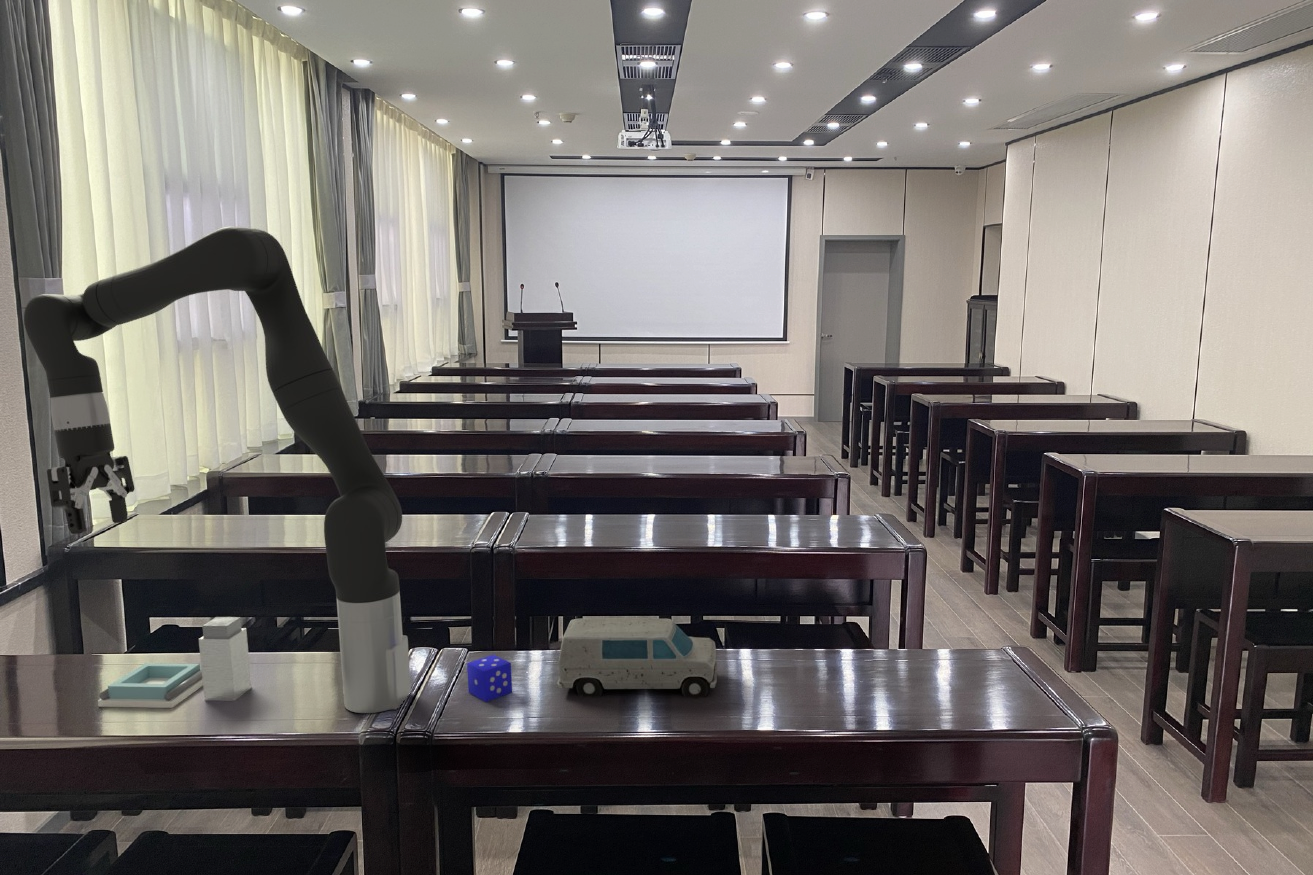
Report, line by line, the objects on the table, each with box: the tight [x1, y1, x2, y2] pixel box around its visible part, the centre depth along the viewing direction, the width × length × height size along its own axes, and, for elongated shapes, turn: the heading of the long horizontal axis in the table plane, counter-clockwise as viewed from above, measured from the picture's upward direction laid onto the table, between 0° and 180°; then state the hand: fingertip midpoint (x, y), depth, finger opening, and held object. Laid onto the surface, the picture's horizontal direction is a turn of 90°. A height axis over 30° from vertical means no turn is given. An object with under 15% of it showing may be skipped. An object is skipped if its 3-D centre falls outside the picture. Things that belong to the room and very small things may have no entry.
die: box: [466, 654, 513, 703], centre depth 147 cm, size 5×5×5 cm
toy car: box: [556, 617, 718, 699], centre depth 149 cm, size 11×25×10 cm, turn 86°
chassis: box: [97, 662, 203, 709], centre depth 150 cm, size 12×11×3 cm
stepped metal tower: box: [198, 616, 252, 702], centre depth 149 cm, size 5×5×12 cm
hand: (100, 527), depth 147 cm, fingers open, 8 cm apart
